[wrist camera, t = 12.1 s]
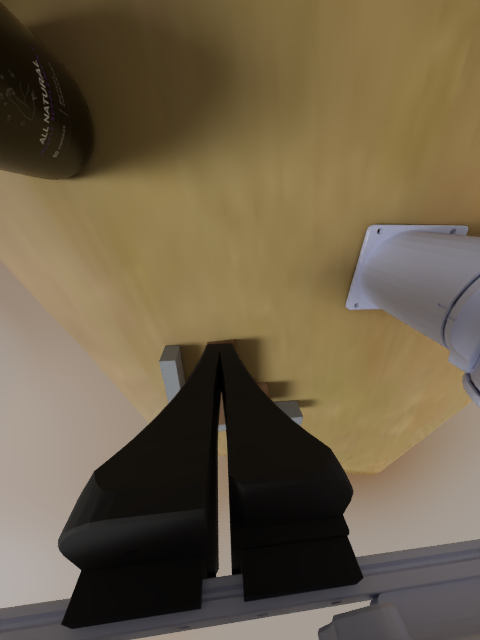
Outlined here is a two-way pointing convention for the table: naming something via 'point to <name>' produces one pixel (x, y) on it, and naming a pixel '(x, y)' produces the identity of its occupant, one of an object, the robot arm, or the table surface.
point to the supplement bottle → (39, 108)
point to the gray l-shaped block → (176, 380)
